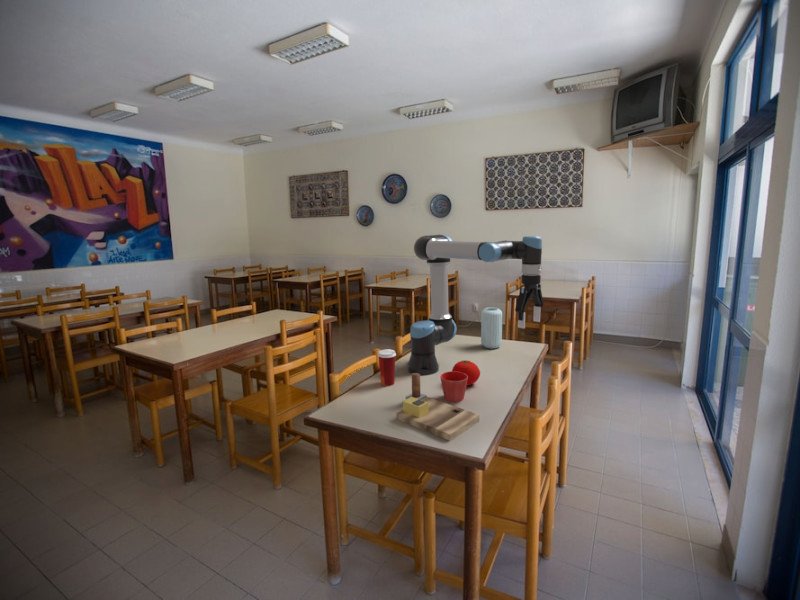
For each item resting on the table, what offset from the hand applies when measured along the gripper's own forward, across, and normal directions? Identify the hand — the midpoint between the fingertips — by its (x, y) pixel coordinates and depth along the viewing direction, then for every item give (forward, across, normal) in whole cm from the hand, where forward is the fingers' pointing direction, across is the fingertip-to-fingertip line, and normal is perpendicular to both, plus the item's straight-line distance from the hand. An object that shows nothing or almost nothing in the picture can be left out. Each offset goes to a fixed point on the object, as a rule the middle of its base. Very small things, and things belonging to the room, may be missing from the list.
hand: (529, 324), depth 170 cm
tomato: (+28, -14, +22) cm, 38 cm away
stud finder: (+25, -53, +17) cm, 61 cm away
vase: (+28, +40, +42) cm, 65 cm away
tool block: (+28, -43, +26) cm, 57 cm away
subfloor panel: (+28, -49, +10) cm, 57 cm away
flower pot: (+28, -30, +16) cm, 44 cm away
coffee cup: (+28, -37, +48) cm, 67 cm away
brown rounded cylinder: (+27, -43, +26) cm, 57 cm away
